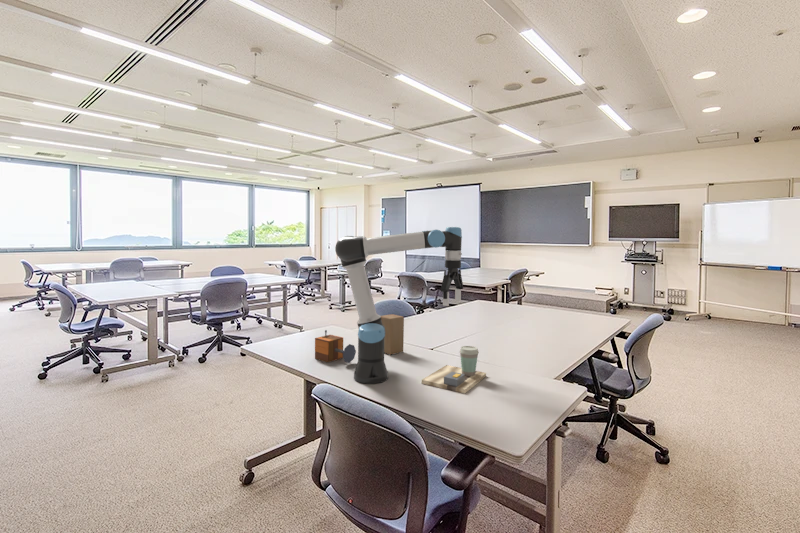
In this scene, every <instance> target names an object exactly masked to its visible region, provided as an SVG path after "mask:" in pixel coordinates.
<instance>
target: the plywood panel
mask: <svg viewBox="0 0 800 533" xmlns="http://www.w3.org/2000/svg"><path fill="white" fill-rule="evenodd" d="M451 372H456V373H461V374H462V368H461V367H460V366H459V367H458V366H453V365H448V364H446V365H444V366H442V367H441V368H438V370H436V371H434V372H432V373H430V374H429V375H427V376H426V377H424V378H422V379H421V384H423V385H427V386H431V387H435V388H439V389H444V390H448V391H452V392H456V393H461V394H467V392H468V391H470V390H471V389H472V388H474V387H475V386H476V385H477V384H479V383H480V382H481V381H482V380H483V379H485V378H486V376H487V372H483V371H479V370H476V371H475V375H474V376H465V381H464V382H463V383H461V384H460V385H459V386H457V387H455V386H451V385H447V384H444V377H445V376H446V375H448V374H449V373H451Z"/></svg>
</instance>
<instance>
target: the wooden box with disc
mask: <svg viewBox="0 0 800 533" xmlns="http://www.w3.org/2000/svg"><path fill="white" fill-rule="evenodd" d="M327 333H328V332H327V329H325V330H324V334H325V335H322V336H318V337H315V338H314V359H316V360H319V361H322V362H326V363H331V362H334V360H335V361H338V360H341V359H343V360H344V363H351V362H352V361H353V360H354V359H355V356H356V353H357V350H356V347H355V345H353V344H350V343H349V344H347V345H346V346H345V347H344V337H342V336H339V335H333V334H327ZM337 359H338V360H337Z"/></svg>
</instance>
